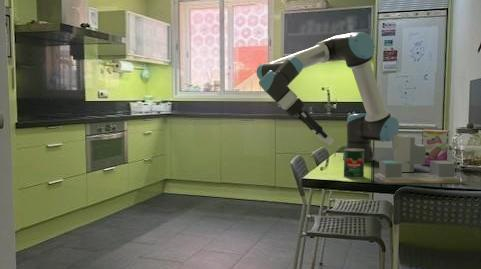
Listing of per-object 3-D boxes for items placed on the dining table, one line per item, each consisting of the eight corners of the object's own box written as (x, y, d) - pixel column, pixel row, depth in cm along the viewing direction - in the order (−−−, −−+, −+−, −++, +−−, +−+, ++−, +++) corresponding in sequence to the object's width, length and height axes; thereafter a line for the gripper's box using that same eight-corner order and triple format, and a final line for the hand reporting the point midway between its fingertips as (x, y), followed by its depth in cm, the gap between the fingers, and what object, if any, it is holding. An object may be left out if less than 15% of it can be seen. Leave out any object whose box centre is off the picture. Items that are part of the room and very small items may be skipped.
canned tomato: (349, 178, 184) (350, 150, 183) (340, 175, 192) (340, 148, 191) (367, 177, 187) (368, 150, 186) (357, 174, 194) (357, 147, 193)
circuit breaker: (429, 173, 196) (430, 137, 195) (393, 172, 199) (394, 136, 198) (425, 170, 204) (426, 135, 202) (391, 169, 206) (392, 135, 205)
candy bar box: (420, 165, 217) (421, 130, 216) (423, 164, 222) (424, 129, 220) (446, 167, 211) (448, 131, 210) (448, 166, 215) (450, 130, 214)
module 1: (379, 173, 185) (379, 160, 185) (394, 173, 185) (394, 160, 185) (385, 177, 177) (385, 163, 177) (401, 177, 177) (401, 163, 177)
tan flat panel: (375, 175, 186) (375, 173, 186) (446, 174, 186) (446, 172, 186) (383, 179, 176) (383, 177, 176) (458, 179, 176) (458, 177, 176)
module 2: (429, 173, 185) (430, 160, 185) (445, 173, 185) (445, 160, 185) (438, 176, 177) (438, 163, 177) (454, 176, 177) (454, 163, 177)
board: (374, 176, 188) (374, 174, 188) (444, 176, 188) (444, 173, 188) (385, 183, 174) (385, 180, 174) (460, 182, 174) (460, 180, 174)
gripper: (281, 109, 199) (316, 144, 200) (287, 111, 174) (327, 151, 176) (294, 97, 199) (329, 132, 200) (302, 97, 174) (342, 137, 175)
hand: (328, 141), depth 188 cm, fingers open, 13 cm apart
